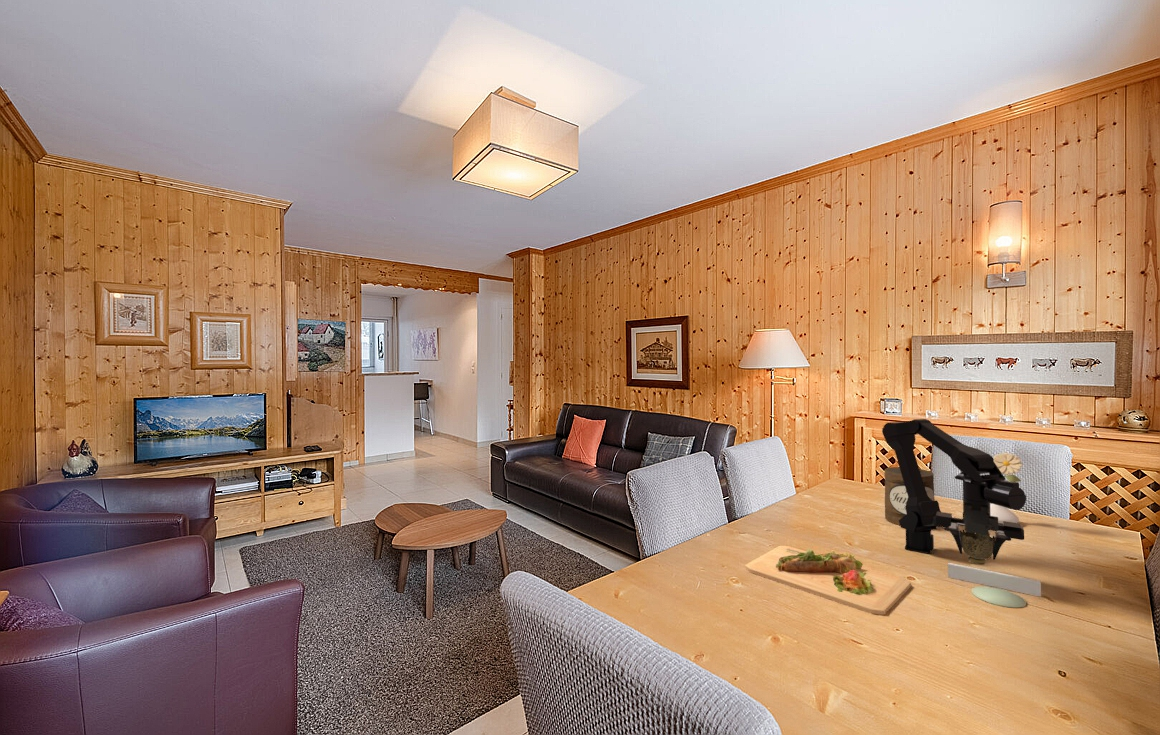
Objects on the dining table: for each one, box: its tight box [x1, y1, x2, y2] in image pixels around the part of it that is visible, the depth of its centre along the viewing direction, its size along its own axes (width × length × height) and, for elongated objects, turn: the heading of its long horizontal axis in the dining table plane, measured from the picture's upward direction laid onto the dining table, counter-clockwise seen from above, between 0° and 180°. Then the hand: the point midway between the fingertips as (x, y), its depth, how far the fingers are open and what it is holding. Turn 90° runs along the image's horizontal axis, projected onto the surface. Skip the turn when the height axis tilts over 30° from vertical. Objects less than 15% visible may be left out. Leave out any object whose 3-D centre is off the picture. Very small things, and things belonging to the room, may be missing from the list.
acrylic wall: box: [947, 562, 1042, 598], centre depth 123 cm, size 18×1×4 cm, turn 50°
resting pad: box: [971, 586, 1027, 609], centre depth 117 cm, size 10×10×1 cm
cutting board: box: [744, 545, 912, 616], centre depth 131 cm, size 35×23×8 cm
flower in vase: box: [990, 452, 1023, 525], centre depth 170 cm, size 13×11×25 cm
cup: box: [959, 529, 995, 566], centre depth 130 cm, size 8×7×8 cm
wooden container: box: [884, 466, 936, 526], centre depth 173 cm, size 15×15×22 cm
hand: (977, 556), depth 130 cm, fingers closed on cup, 6 cm apart
